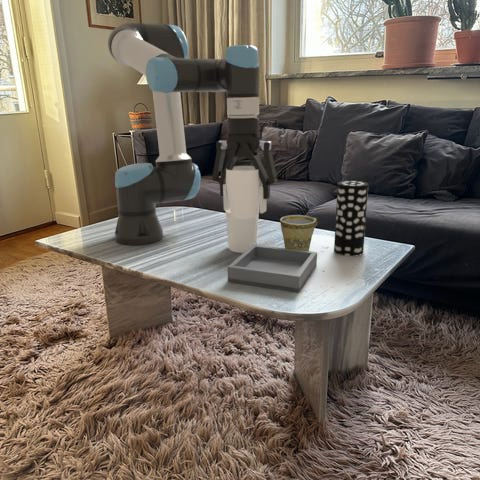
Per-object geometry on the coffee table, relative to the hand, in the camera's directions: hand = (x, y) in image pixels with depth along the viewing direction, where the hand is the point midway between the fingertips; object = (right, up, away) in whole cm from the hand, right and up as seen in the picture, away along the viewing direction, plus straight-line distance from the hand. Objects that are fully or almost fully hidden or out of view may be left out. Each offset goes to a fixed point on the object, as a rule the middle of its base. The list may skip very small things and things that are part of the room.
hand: (244, 210), depth 113 cm
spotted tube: (+30, -11, +19) cm, 37 cm away
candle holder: (0, -10, +23) cm, 25 cm away
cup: (0, -2, 0) cm, 2 cm away
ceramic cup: (+16, -11, +19) cm, 28 cm away
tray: (+8, -16, +3) cm, 18 cm away
